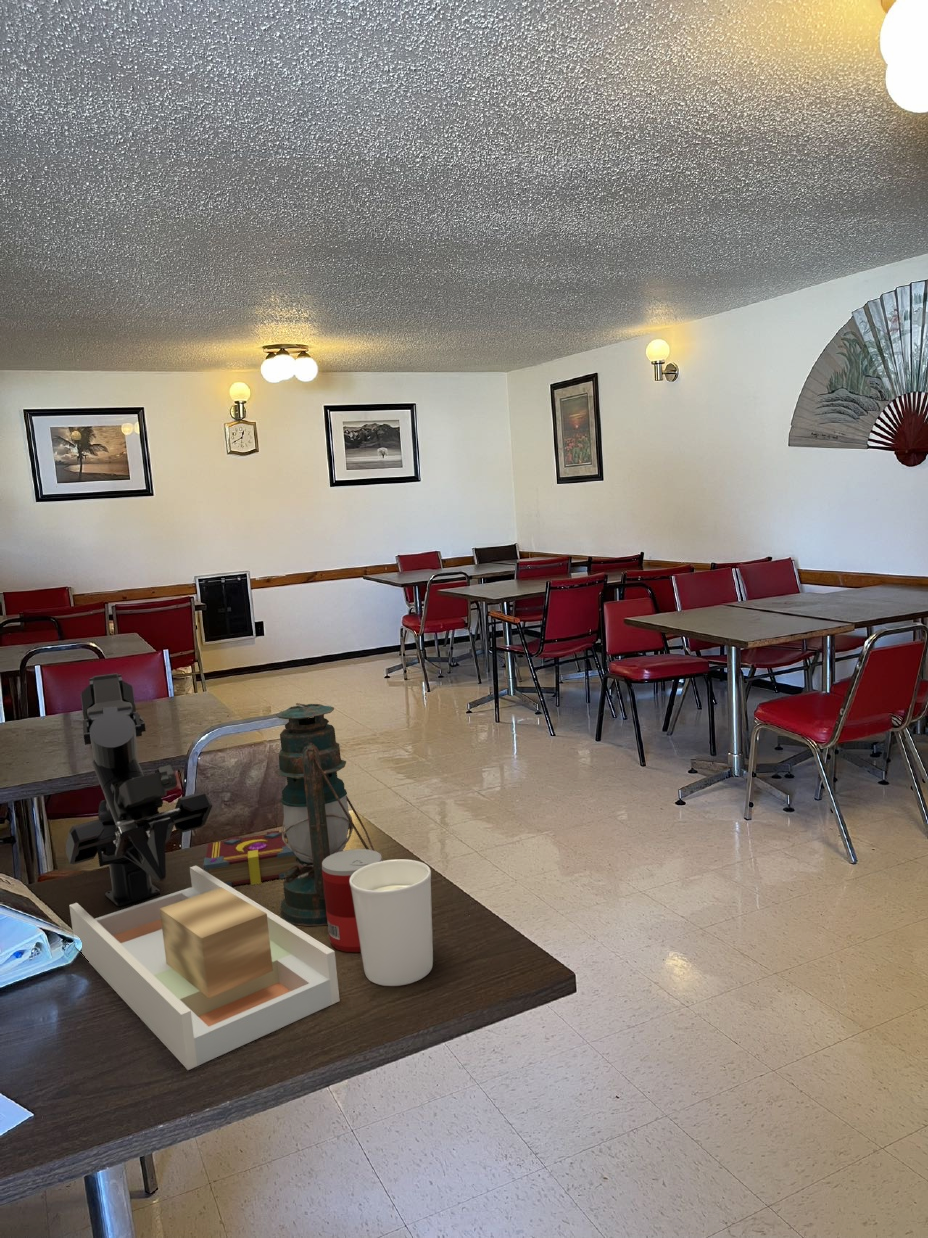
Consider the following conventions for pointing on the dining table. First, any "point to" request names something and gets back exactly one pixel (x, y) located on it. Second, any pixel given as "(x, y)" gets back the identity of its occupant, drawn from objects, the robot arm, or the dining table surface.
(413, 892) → the candle holder
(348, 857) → the canned food
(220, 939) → the wooden block
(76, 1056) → the dining table surface
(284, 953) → the tray
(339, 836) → the lantern
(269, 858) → the decorative book
